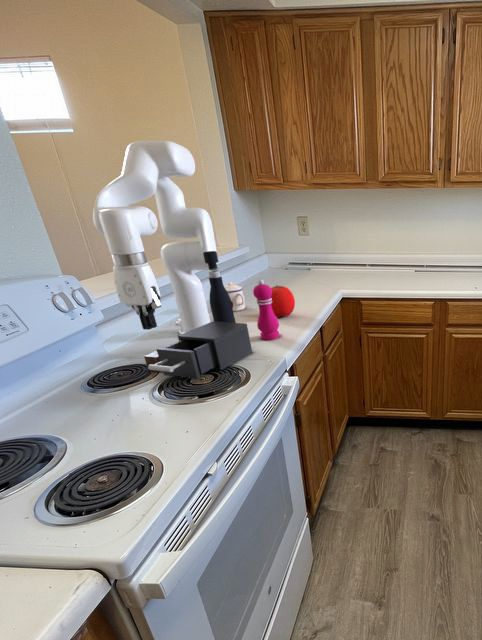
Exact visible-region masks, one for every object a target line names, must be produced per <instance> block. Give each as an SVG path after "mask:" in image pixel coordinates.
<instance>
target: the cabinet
mask: <svg viewBox="0 0 482 640" xmlns="http://www.w3.org/2000/svg"><path fill="white" fill-rule="evenodd" d="M177 339H178V341H181V340H183V339H190V340H201V341H212V343H213V347H214V351H215V355H216V360H217V364H218V366H216V367H214V368H213V369H211V370H213V371H220V372H222V371H223V370H225V369H226V368H228V367H230V366H232V365H233V364H235V363H237V362H239V361H241V360H242V359H244V358H246V357H247V356H249V355H251V354H253V348H252V344H251V339H250V333H249V328H248V324H247V323H244V322H243V323H242V322H235V323H230V322H216V321H214V320H212V321H210V323H208V324H205V325H203V326H201V327H198V328H196V329H193V330H191V331H188V332H186V333H184V334H181V335H180V334H179V335H177ZM221 366H222V367H221ZM211 370H210V371H211Z"/></svg>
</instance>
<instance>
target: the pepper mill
mask: <svg viewBox="0 0 482 640" xmlns="http://www.w3.org/2000/svg"><path fill="white" fill-rule="evenodd" d="M271 288H272V287H271V286H270V285H268V284H265V281H264V280H263V279H259V280H258V282H257V285H255V286H254V288H253V291H252V293H253V296H254V297H255V298H256V300H255V301H256V305H258V311H259V313H258V318H257V323H256V326H257V329H258V330H259V333H260V335H259V336H260V339H261V340H264V341H271V340H276V339H278V338H279V337H280V331H279V330H278V329H279V328H280V322H279V320H278V319H279V318H278V317H276V316H275V314H274V313H273V310H272V307H271V303H272V298H270V297H271V295H272V290H271Z"/></svg>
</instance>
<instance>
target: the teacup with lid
mask: <svg viewBox="0 0 482 640" xmlns="http://www.w3.org/2000/svg"><path fill="white" fill-rule="evenodd" d="M224 287H225V289H226V291H227V292H228V294H229V297H230V299H231V303H232V308H233V312H239V311H242V310H245V309H246V304H245V303H246V298H245V296H244V292H243V287H242V286H240V285H237V284H233V282H232V281H228V282H227V284H226V285H224Z"/></svg>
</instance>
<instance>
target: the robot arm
mask: <svg viewBox="0 0 482 640" xmlns="http://www.w3.org/2000/svg"><path fill="white" fill-rule="evenodd" d="M124 155H125V156H124V160H123V165H122V171H121V174H120V176H118V177H116V178H114V179H113V180H112V181H111V182H110V183H108V184H107V185H105V186H104V187H103V188H102V189H101V190H100V191H99V192H98V194H97V195H96V198H95V201H94V205H93V211H92V222H93V225H94V227H95V229H96V231H97V232H98V233H99V234H100V235H102V236H104V238H105V241H106V244H107V247H108V251H109V253H110V257H111V261H112V263H113V266H112V274H113V280H114V285H115V288H116V294H117V296H118V299H119V302H120V303H121V304H122V305H126V306H127V307H128V308H131V309H133V310H134V312H135V314H136V315H137V316H138V317H139V321H140V323H141V326H142V329H143V330H147V331H149V330H152V329H155V328H158V324H157V320H156V318H155V317H156V316H155V313H156V310H157V309H159V308H161V307H162V304H161V300H162V295H161V291H160V288H159V284H158V282H157V279H156V276H155V274H154V272H153V270H152V267H151V265H150V264H149V261H148V259H147V254H146V251H145V248H144V244H143V240H142V238H141V237H149V236H152V235H153V234H155V233H156V232H157V230H158V226H159V225H158V224H159V223H160V228H161V231H162V233H163V235H164V236H165V237H167V238H168V239H189V238H190V239H193V238H194V239H195V238H197V239H198V241H177V242H170V243H166V244H164V245H163V246H162V247H161V249H160V258H161V261H162V264H163V266H164V268H165V270H166V272H167V274H168V278H169V281H170V284H171V287H172V291H173V295H174V299H175V303H176V307H177V311H178V314H179V318H178V319H177V320H176V321H175V322H174V324H175V326H179V327H180V329H179V330H178V333H179V335H181V334H184V333H186V332H188V331H191V330H193V329H196V328H198V327H201V326H203V325H205V324H208V323H210V322H211V318H210V314H209V313H210V312H209V309H208V305H207V301H206V296H205V292H204V287H203V283H202V281H201V279H200V278H199V277H198V275H196V274H195V273H194V271H206V270H209V267H208V264H206V263H205V260H204V255H203V252H208V251H216V252H217V253H218V251H217V244H216V238H215V232H214V226H213V221H212V218H211V216H210V214H209V212H208V211H207V210H206V209H204V208H201V207H186V202H185V195H184V193H183V191H182V189H181V188H180V187H179V186H178V185H177V184H176V183H175V182H174V181H173V180H172V179H170V178H190V177H192V176H194V174H195V171H196V162H195V158H194V156H193V154H192V153H191V151H190V150H189V149H188V148H186V147H185V146H183V145H181V144H178V143H177V142H175V141H171V140H137V141H133V142H131V143H130V144H129V145H127V148H126V150H125V154H124ZM153 196H154V198H155V202H156V209H157V213H158V218H157V216H156V214H155V213H154V212H153V210H151V209H150V208H148V207H146V206H142V205H135V204H137V203H140V202H142V201H145V200H147V199H150V198H151V197H153ZM158 219H159V221H158ZM218 263H219V262H218ZM218 263H217V265H218Z"/></svg>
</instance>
